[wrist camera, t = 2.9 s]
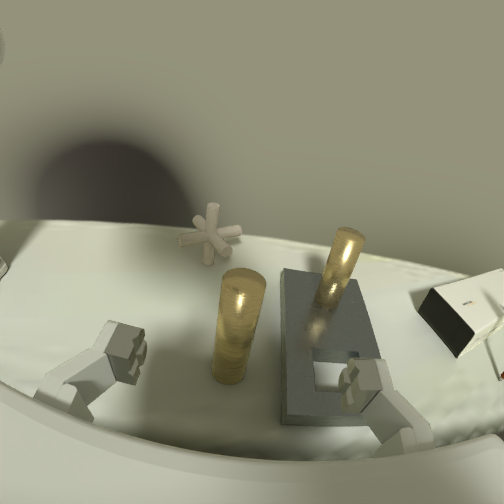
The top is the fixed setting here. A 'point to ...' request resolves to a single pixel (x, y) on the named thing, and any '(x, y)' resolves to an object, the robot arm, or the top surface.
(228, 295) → the brass pin
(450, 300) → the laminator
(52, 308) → the top surface
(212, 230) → the pipe connector
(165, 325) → the top surface
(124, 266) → the top surface
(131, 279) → the top surface
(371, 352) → the bolt plate
